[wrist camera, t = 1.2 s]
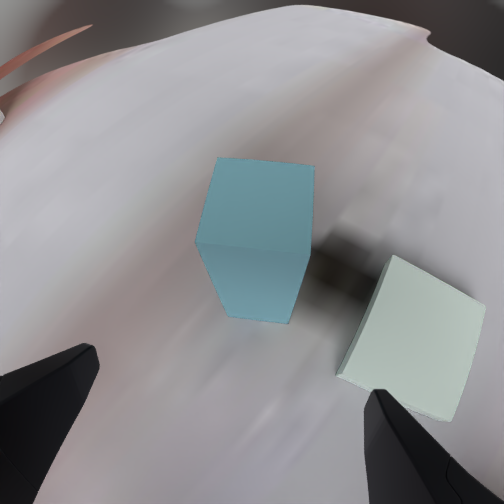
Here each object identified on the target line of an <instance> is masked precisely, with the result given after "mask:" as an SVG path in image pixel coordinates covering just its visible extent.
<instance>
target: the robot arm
mask: <svg viewBox="0 0 504 504" xmlns="http://www.w3.org/2000/svg"><path fill="white" fill-rule="evenodd" d="M99 367H100V364H99V360H98V356H97V352H96V349H95V347H94V346H93V345H90V344H87V343H82V344H79V345H77V346H74V347H72V348H70V349H67V350H65V351H62V352H60V353H57V354H55V355H52V356H50V357H47V358H45V359H42V360H40V361H37V362H35V363H32V364H30V365H27V366H25V367H22V368H20V369H17V370H15V371H12V372H10V373H7V374H4V375H3V376H0V504H33V502H34V500H35V498H36V496H37V493H38V491H39V489H40V487H41V485H42V483H43V481H44V479H45V477H46V475H47V473H48V471H49V469H50V467H51V465H52V463H53V461H54V459H55V457H56V455H57V453H58V451H59V449H60V447H61V445H62V443H63V442H64V440H65V438H66V436H67V434H68V432H69V430H70V429H71V427H72V425H73V423H74V421H75V419H76V418H77V416H78V414H79V412H80V411H81V409H82V407H83V405H84V403H85V401H86V399H87V396H88V394H89V392H90V389H91V387H92V385H93V382H94V380H95V378H96V376H97V373H98V371H99ZM364 454H365V464H366V473H367V482H368V492H369V504H504V501H503V500H501V499H500V498H499V497H497V496H496V495H495V494H493V493H492V492H491V491H490V490H488V489H487V488H486V487H485V486H483V485H482V484H481V483H480V482H478V481H477V480H476V479H475V478H474V477H473V476H471V475H470V474H469V473H468V472H467V471H466V470H465V469H464V468H463V467H462V466H461V465H460V464H459V463H458V462H457V461H456V460H455V459H454V458H453V457H450V454H449V453H448V452H447V451H446V450H445V449H444V448H443V447H442V446H441V445H440V444H439V443H438V442H437V441H436V440H435V439H434V438H433V437H432V436H431V435H430V434H429V433H428V432H427V431H426V430H425V429H424V428H423V427H422V426H421V424H420V423H419V422H418V421H417V420H416V419H415V418H414V417H413V416H412V415H411V414H410V413H409V412H408V411H407V410H406V409H405V408H404V407H403V406H402V405H401V404H400V403H399V402H398V401H397V400H396V399H395V398H394V397H393V396H392V395H391V394H390V393H389V392H388V391H387V390H386V389H373V390H372V392H371V394H370V396H369V398H368V401H367V403H366V405H365V408H364Z"/></svg>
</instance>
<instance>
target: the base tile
mask: <svg viewBox="0 0 504 504" xmlns="http://www.w3.org/2000/svg"><path fill="white" fill-rule="evenodd" d="M485 309H486V306H484V305H483V304H481V303H479V302H478V301H476V300H474V299H473V298H471V297H469V296H468V295H466V294H464V293H462V292H461V291H459V290H457V289H455V288H454V287H452V286H450V285H448V284H447V283H445V282H443V281H441V280H440V279H438V278H436V277H434V276H432V275H431V274H429V273H427V272H425V271H423V270H421V269H420V268H418V267H416V266H414V265H412V264H410V263H408V262H407V261H405V260H403V259H401V258H399V257H397V256H395V255H392V256H391V257H390V259H389V260H388V261H387V262H386V264H385V265H384V268H383V270H382V273H381V275H380V278H379V280H378V283H377V286H376V288H375V290H374V293H373V295H372V298H371V300H370V303H369V305H368V307H367V310H366V312H365V314H364V317H363V319H362V321H361V323H360V326H359V328H358V330H357V332H356V334H355V336H354V339H353V341H352V343H351V345H350V347H349V349H348V351H347V353H346V355H345V357H344V359H343V361H342V363H341V365H340V367H339V369H338V371H337V373H336V375H335V376H338V377H340V378H342V379H344V380H346V381H348V382H350V383H352V384H354V385H356V386H359V387H361V388H363V389H365V390H367V391H369V392H372V390H373V389H386V390H387V391H388V392H389V393H390V394H391V395H392V396H393V397H394V398H395V399H396V400H397V401H398V402H399V403H400V404H401V405H402V406H403V407H406V408H408V409H410V410H413V411H415V412H417V413H420V414H422V415H425V416H427V417H430V418H432V419H435V420H437V421H447V422H451V421H452V418H453V416H454V414H455V411H456V409H457V406H458V403H459V401H460V398H461V395H462V393H463V390H464V387H465V384H466V381H467V378H468V375H469V372H470V369H471V365H472V362H473V359H474V355H475V351H476V348H477V344H478V340H479V336H480V332H481V328H482V324H483V319H484V314H485Z"/></svg>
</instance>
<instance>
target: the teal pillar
mask: <svg viewBox="0 0 504 504" xmlns="http://www.w3.org/2000/svg"><path fill="white" fill-rule="evenodd" d="M314 167H315V166H310V165H302V164H293V163H283V162H273V161H261V160H249V159H235V158H217V161H216V165H215V168H214V172H213V175H212V179H211V182H210V186H209V190H208V193H207V197H206V201H205V205H204V208H203V212H202V216H201V220H200V224H199V227H198V231H197V235H196V239H195V244H196V246H197V248H198V251H199V253H200V255H201V257H202V260H203V262H204V264H205V267H206V269H207V271H208V273H209V276H210V278H211V280H212V282H213V285H214V287H215V289H216V291H217V293H218V296H219V298H220V300H221V302H222V304H223V307H224V309H225V311H226V313H227V315H228V316H229V317H236V318H244V319H251V320H259V321H267V322H276V323H284V324H288V322H289V319H290V316H291V313H292V310H293V308H294V305H295V302H296V298H297V295H298V292H299V289H300V286H301V283H302V280H303V277H304V274H305V271H306V267H307V264H308V261H309V258H310V253H311V237H312V219H313V197H314Z"/></svg>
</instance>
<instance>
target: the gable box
mask: <svg viewBox="0 0 504 504" xmlns="http://www.w3.org/2000/svg"><path fill="white" fill-rule="evenodd" d="M4 119H5V116H4V115H3V113H2V112H1V110H0V125H1V123H2V122H3V120H4Z"/></svg>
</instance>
